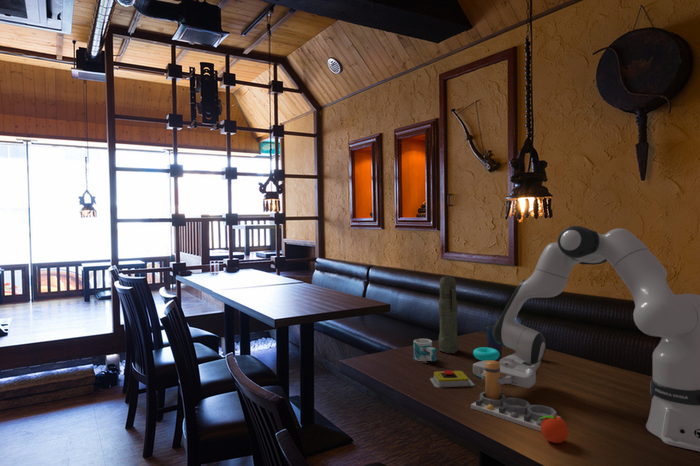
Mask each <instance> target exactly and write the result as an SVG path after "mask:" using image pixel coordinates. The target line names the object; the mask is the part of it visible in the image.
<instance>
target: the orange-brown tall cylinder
mask: <svg viewBox="0 0 700 466" xmlns="http://www.w3.org/2000/svg"><path fill="white" fill-rule="evenodd" d="M498 378H500V363H499V362H498V361H493V360H489V361H485V380H484V383H485V384H484V385H485V386H484V389H485V393H486V398H488V399H491V400H500V393H501V384H498V381H497V379H498Z"/></svg>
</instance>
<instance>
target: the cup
mask: <svg viewBox="0 0 700 466" xmlns="http://www.w3.org/2000/svg"><path fill="white" fill-rule="evenodd" d="M493 327H494V325H490V326H486V330H485V331H486V340H487V341H486V342H487V347H488V348H493V349H496V350H497V351H498V352H499V353H500V356H499V358H498V359H497V360H494V361H498V362H499V361H500V360H501V359H502V358H503V357H502V356H503V355H502V354H503V353H502V352H503V345H500V344H498V343H496V341H495V340H494V338H493V335H492V329H493Z"/></svg>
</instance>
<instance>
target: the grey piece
mask: <svg viewBox="0 0 700 466" xmlns="http://www.w3.org/2000/svg"><path fill="white" fill-rule="evenodd" d="M470 409H472V410H475V411H478V412H481V413H483V414H487V415H490V416H493V417H496V418H499V419H502V420H504V421H508V422H511V423H514V424H517V425H519V426H523V427H526V428H529V429H532V430H535V431H538V432H541V433H542V431H541V422H542V420H543V419H544V418H542V419H540V418H541V417H543V416H548V415H549V416H551V415H554V416H558V417H560V418H561V416H559V415H558V412H557V411H556V410H555V409H554V408H553V407H552V406H551V407H550V406H546V405H543V404H530V402H529V401H528V400H526V399H523V398H519V397H506V395H505V393H502V392H500V400H491V399H488V398H486V393H485V391H484V390H483V392H481V393H479V399H477V400H475V402H472V403H471V404H470ZM538 419H540V420H538ZM561 419H562V418H561ZM537 421H538V422H537Z"/></svg>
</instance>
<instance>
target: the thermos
mask: <svg viewBox="0 0 700 466" xmlns="http://www.w3.org/2000/svg"><path fill="white" fill-rule="evenodd" d="M439 280H440V281H439V300H438V302H437V303H438V315H439V335H438V347H439V349H438V350H440V351H442V352H448V353H452V352H457V351H458V352H459V336H458V319H457V318H458V317H457V316H458V314H459V313H458V311H459V310H458V301H457V300H458V299H457V283H456V279H455V277H454V276H452V275H451V276H450V275H449V276H447V275H446V276H445V275H444V276H442V277H440V279H439ZM440 351H439V352H440ZM442 352H441V353H442ZM458 352H457V353H458Z"/></svg>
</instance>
